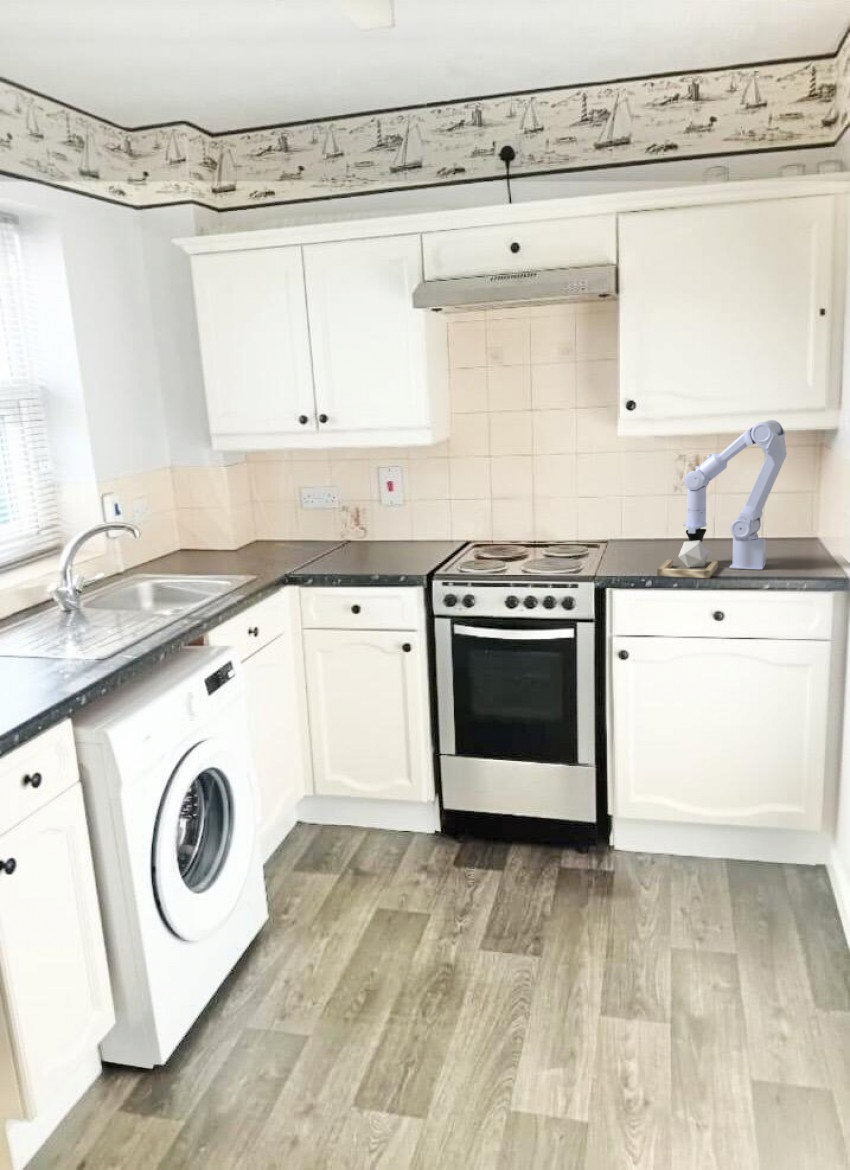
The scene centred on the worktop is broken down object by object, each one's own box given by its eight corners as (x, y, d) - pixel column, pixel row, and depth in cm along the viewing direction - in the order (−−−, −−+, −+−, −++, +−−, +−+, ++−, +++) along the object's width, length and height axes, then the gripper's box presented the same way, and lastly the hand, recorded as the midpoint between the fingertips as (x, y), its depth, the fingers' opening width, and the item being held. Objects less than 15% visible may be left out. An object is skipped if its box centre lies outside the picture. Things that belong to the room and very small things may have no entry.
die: (706, 571, 274) (717, 543, 276) (681, 559, 273) (693, 531, 275) (695, 576, 282) (706, 548, 284) (670, 563, 281) (682, 536, 283)
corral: (717, 567, 275) (717, 561, 275) (709, 578, 263) (709, 571, 262) (667, 565, 282) (667, 559, 281) (657, 575, 269) (657, 569, 269)
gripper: (687, 505, 288) (687, 547, 291) (678, 512, 275) (678, 556, 278) (710, 506, 284) (710, 548, 287) (702, 513, 272) (701, 557, 275)
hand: (695, 552), depth 283 cm, fingers closed
